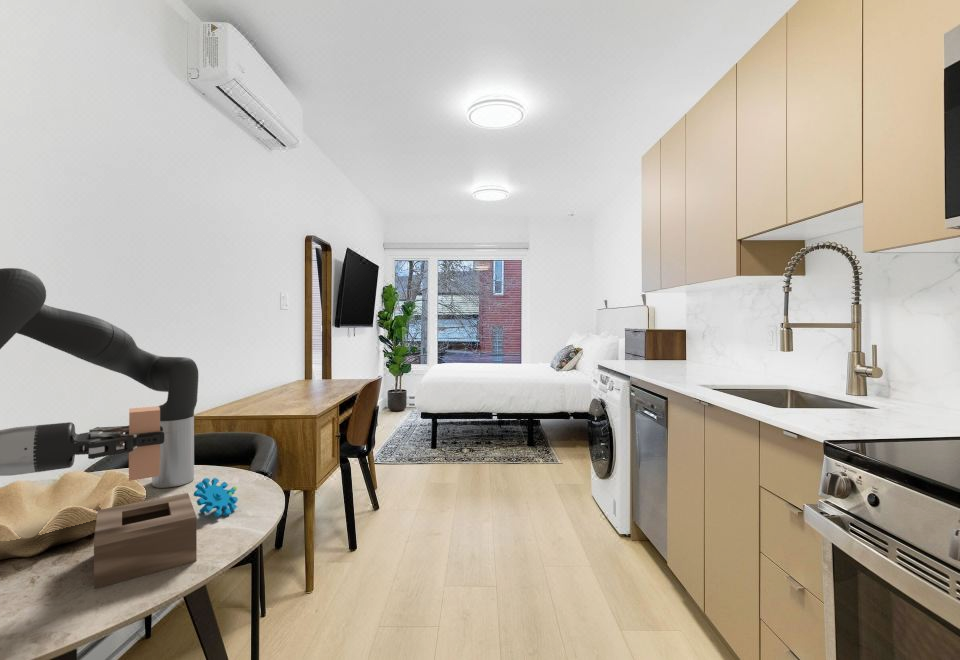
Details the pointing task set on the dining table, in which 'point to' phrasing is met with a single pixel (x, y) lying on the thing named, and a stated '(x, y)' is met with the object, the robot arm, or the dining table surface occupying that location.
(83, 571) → the dining table surface
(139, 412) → the block
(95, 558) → the slot box
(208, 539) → the dining table surface
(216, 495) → the gear
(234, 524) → the dining table surface
